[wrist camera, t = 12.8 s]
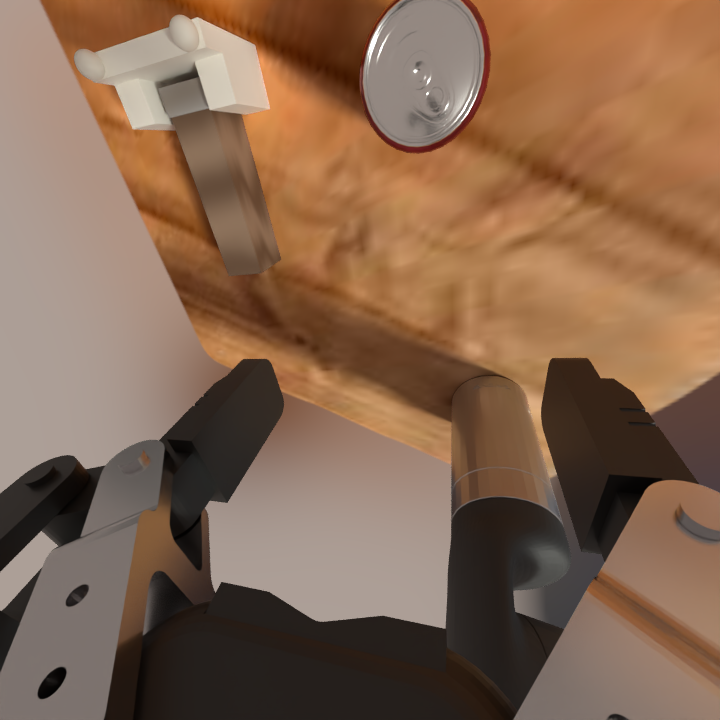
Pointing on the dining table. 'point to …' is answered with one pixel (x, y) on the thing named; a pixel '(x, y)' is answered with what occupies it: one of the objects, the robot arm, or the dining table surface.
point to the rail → (223, 178)
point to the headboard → (179, 70)
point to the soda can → (424, 72)
